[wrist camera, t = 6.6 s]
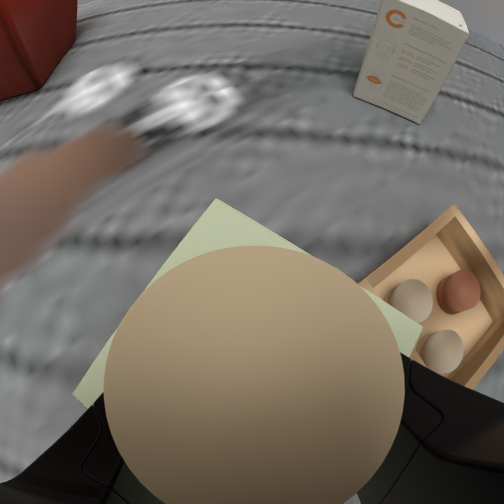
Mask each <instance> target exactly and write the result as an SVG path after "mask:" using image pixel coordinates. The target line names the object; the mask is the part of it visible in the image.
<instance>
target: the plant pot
mask: <svg viewBox="0 0 504 504" xmlns="http://www.w3.org/2000/svg"><path fill="white" fill-rule="evenodd" d="M76 21H77V0H0V100H3V99H6V98H10V97H13V96H17V95H20V94H24V93H27V92H31V91H35V90H37V89H39V88H40V87H41V86H42V85H43V84H44V82H45V81H46V80H47V78H48V77H49V75H50V74H51V72H52V71H53V69H54V68H55V67H56V65H57V64H58V62H59V61H60V60H61V58H62V57H63V56H64V54H65V53H66V52H67V50H68V49H69V48H70V47H71V45H72V44H73V43H74V41H75V36H76Z"/></svg>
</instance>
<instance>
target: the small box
mask: <svg viewBox="0 0 504 504" xmlns="http://www.w3.org/2000/svg"><path fill="white" fill-rule="evenodd" d="M468 36H469V32H468V29H467V26H466V24H465V22H464V19H463V17H462V15H461V12H460V11H457V10H456V9H454V8H452V7H450V6H448V5H446V4H444V3H442V2H439V1H438V0H381V2H380V6H379V10H378V13H377V17H376V20H375V24H374V27H373V30H372V34H371V37H370V40H369V44H368V47H367V50H366V54H365V57H364V60H363V63H362V67H361V70H360V73H359V76H358V79H357V83H356V86H355V89H354V93H353V96H354V97H356V98H359V99H362V100H364V101H367V102H369V103H372V104H374V105H377V106H379V107H382V108H384V109H387V110H389V111H391V112H393V113H396V114H398V115H400V116H403V117H405V118H407V119H409V120H411V121H413V122H415V123H417V124H421V122H422V121H423V119H424V117H425V116H426V114H427V112H428V110H429V109H430V107H431V105H432V104H433V102H434V100H435V99H436V97H437V95H438V93H439V91H440V90H441V88H442V86H443V84H444V82H445V80H446V78H447V77H448V75H449V73H450V71H451V69H452V67H453V65H454V63H455V62H456V60H457V58H458V56H459V54H460V52H461V50H462V48H463V46H464V44H465V42H466V40H467V38H468Z"/></svg>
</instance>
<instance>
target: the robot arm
mask: <svg viewBox="0 0 504 504" xmlns="http://www.w3.org/2000/svg"><path fill="white" fill-rule="evenodd" d="M400 354H401V358H402V364H403V370H404V383H405V396H404V405H403V413H402V417H401V421H400V424H399V428H398V432H397V434H396V437H395V439H394V442H393V444H392V446H391V449H390V450H389V452H388V454H387V456H386V457H385V459H384V461H383V463H382V464H381V466H380V467H379V468H378V470H377V471H376V472H375V474H374V475H373V476H372V477H371V479H370V480H369V481H368V482H367V483H366V484H365V485H364V486H363V487H362V488H361V489H360V490H359V491H358V492H357V494H358V497H359V499H360V502H361V504H504V403H503V402H500V401H498V400H495V399H493V398H491V397H488V396H486V395H484V394H481V393H479V392H477V391H474V390H472V389H470V388H467V387H465V386H463V385H461V384H459V383H456V382H454V381H452V380H450V379H448V378H446V377H444V376H442V375H440V374H438V373H436V372H434V371H432V370H431V369H429V368H427V367H425V366H423V365H422V364H420V363H418V362H416V361H415V360H412V361H411V358H409V357H408V356H406V355H404V354H403V353H401V352H400ZM93 405H94V406H93ZM93 405H91V406H90V407H89V408H88V409H87V410H86V412H85V413H84V414H83V415H82V416H81V417H80V418H79V419H78V420H77V421H76V422H75V423H74V424H73V425H72V427H71V428H70V429H69V430H68V431H67V432H65V433H64V434H63V435H62V436H61V437H60V438H59V439H58V440H57V441H56V442H55V443H54V444H53V445H52V446H51V447H49V448H48V449H47V450H46V451H45V452H44V453H43V454H42V455H41V456H40V457H38V458H37V459H36V460H35V461H34V462H33V463H32V464H31V465H30V466H28V467H27V468H26V469H25V470H24V471H23V472H22V473H20V474H19V475H18V476H16V477H15V478H13V479H11V480H9V481H7V482H3V483H0V504H165V503H164V502H162V501H161V500H159V499H158V498H157V497H155V496H154V495H153V494H152V493H151V492H150V491H149V490H148V489H147V488H146V487H145V486H144V485H143V484H142V483H141V482H140V481H139V480H138V479H137V478H136V476H135V475H134V474H133V473H132V471H131V470H130V469H129V467H128V466H127V464H126V463H125V461H124V459H123V458H122V456H121V454H120V453H119V451H118V448H117V446H116V444H115V442H114V439H113V437H112V434H111V431H110V428H109V424H108V420H107V417H106V411H105V403H104V392H103V393H102V394H101V395H100V396H99V397H98V398H97V399H96V401H95V402H94V403H93Z"/></svg>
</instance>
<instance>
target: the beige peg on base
mask: <svg viewBox="0 0 504 504" xmlns="http://www.w3.org/2000/svg"><path fill="white" fill-rule="evenodd" d="M422 328H423V326H421V325H420V324H418V323H417V322H415V321H414V320H412V319H411V318H409V317H407V316H406V315H404V314H403V313H401V312H400V311H398V310H397V309H395V308H394V307H392V306H391V305H389V304H387V303H386V302H384V301H383V300H381V299H380V298H378V297H377V296H375V295H373V294H372V293H370V292H369V291H367V290H366V289H364V288H362V287H361V286H359V285H358V284H357V283H356V282H355V281H354V280H352V279H351V278H350V277H348V276H347V275H345V274H344V273H343V272H341V271H340V270H338V269H337V268H335V267H333V266H331V265H330V264H328V263H326V262H324V261H322V260H320V259H318V258H315V257H313V256H311V255H310V254H308V253H307V252H305V251H303V250H302V249H300V248H298V247H297V246H295V245H293V244H292V243H290V242H289V241H287V240H285V239H284V238H282V237H280V236H279V235H277V234H275V233H274V232H272V231H270V230H269V229H267V228H265V227H264V226H262V225H260V224H259V223H257V222H255V221H254V220H252V219H250V218H249V217H247V216H245V215H244V214H242V213H240V212H239V211H237V210H235V209H234V208H232V207H230V206H229V205H227V204H225V203H224V202H222V201H220V200H218V199H217V198H216V199H215V200H214V201H213V203H212V204H211V205H210V206H209V208H208V209H207V210H206V211H205V212H204V214H203V215H202V216H201V217H200V219H199V220H198V221H197V222H196V224H195V225H194V226H193V227H192V229H191V230H190V231H189V232H188V234H187V235H186V236H185V237H184V239H183V240H182V241H181V243H180V244H179V245H178V246H177V248H176V249H175V250H174V252H173V253H172V254H171V255H170V257H169V258H168V259H167V261H166V262H165V263H164V265H163V266H162V267H161V269H160V270H159V271H158V273H157V274H156V275H155V276H154V278H153V279H152V280H151V282H150V283H149V285H148V286H147V287H146V289H145V290H144V291H143V293H142V294H141V295H140V296H139V297H138V298H137V300H136V301H135V302H134V303H133V305H132V306H131V307H130V308H129V310H128V311H127V313H126V315H125V316H124V318H123V319H122V321H121V323H120V324H119V326H118V327H117V329H116V330H115V332H114V333H113V334H112V336H111V337H110V339H109V340H108V342H107V343H106V345H105V346H104V347H103V349H102V350H101V352H100V353H99V355H98V356H97V358H96V359H95V361H94V362H93V364H92V365H91V367H90V368H89V370H88V371H87V373H86V374H85V376H84V377H83V379H82V380H81V382H80V383H79V385H78V386H77V388H76V390H75V391H74V393H73V395H74V396H75V397H76V398H77V399H78V400H79V401H80V402H81V403H82V404H83V405H84V406H85V407H86V408H87V409H88V408H89V407H90V406H91V405H93V403H94V402H95V401H96V399H97V398H98V397H99V396H100V395H101V394H102V393H103V392H104V403H105V411H106V417H107V420H108V424H109V428H110V431H111V434H112V437H113V439H114V442H115V444H116V446H117V448H118V451H119V453H120V454H121V456H122V458H123V459H124V461H125V463H126V464H127V466H128V467H129V469H130V470H131V471H132V473H133V474H134V475H135V476H136V478H137V479H138V480H139V481H140V482H141V483H142V484H143V485H144V486H145V487H146V488H147V489H148V490H149V491H150V492H151V493H152V494H153V495H154V496H155V497H157V498H158V499H159V500H161V501H162V502H164V503H165V504H343V503H344V502H346V501H347V500H348V499H349V498H351V497H352V496H353V495H355V494H356V493H357V492H358V491H359V490H360V489H361V488H362V487H363V486H364V485H365V484H366V483H367V482H368V481H369V480H370V479H371V477H372V476H373V475H374V474H375V472H376V471H377V470H378V468H379V467H380V466H381V464H382V463H383V461H384V459H385V457H386V456H387V454H388V452H389V450H390V449H391V446H392V444H393V442H394V439H395V437H396V434H397V432H398V428H399V424H400V421H401V417H402V413H403V405H404V396H405V383H404V370H403V364H402V358H401V354H400V352H401V353H403V354H404V355H406V356H408V357H410V355H411V353H412V351H413V348H414V346H415V344H416V342H417V340H418V337H419V335H420V333H421V331H422ZM93 406H94V405H93Z"/></svg>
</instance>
